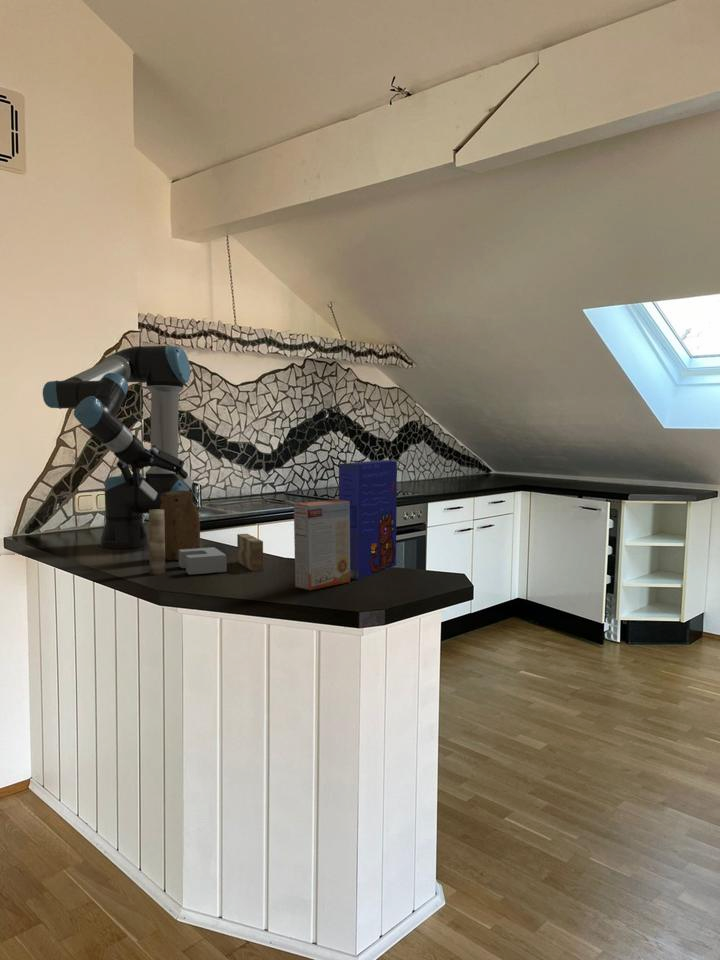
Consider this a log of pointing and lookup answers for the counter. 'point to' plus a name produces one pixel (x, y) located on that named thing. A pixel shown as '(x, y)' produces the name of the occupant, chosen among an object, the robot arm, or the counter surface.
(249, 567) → the wall
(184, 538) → the block
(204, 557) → the block
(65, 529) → the counter surface
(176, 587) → the counter surface
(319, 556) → the cracker box
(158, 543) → the dowel
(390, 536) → the cereal box
